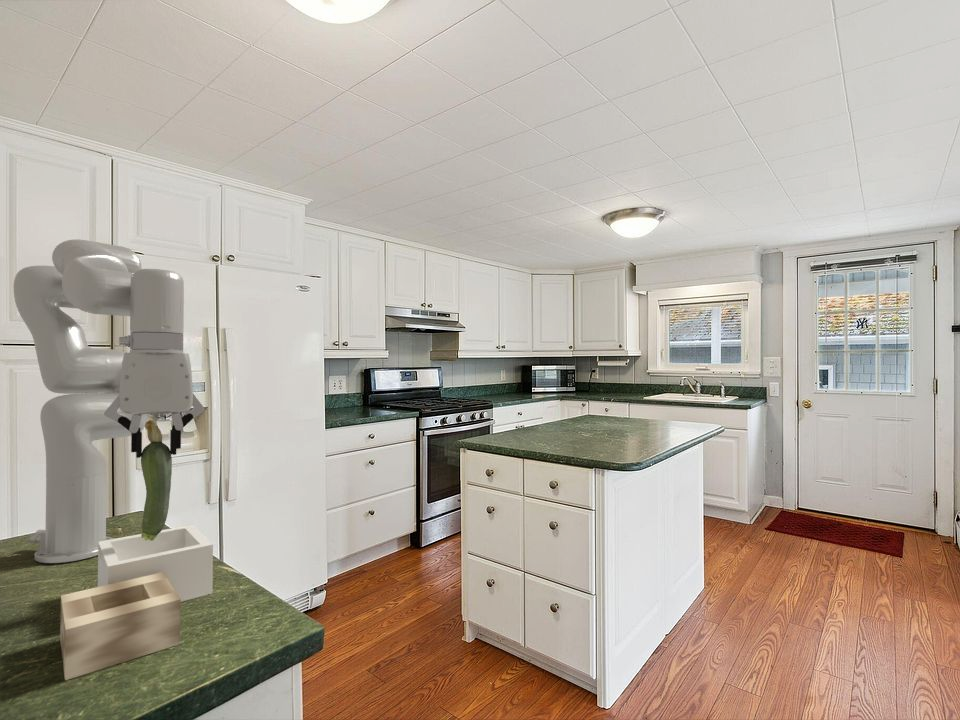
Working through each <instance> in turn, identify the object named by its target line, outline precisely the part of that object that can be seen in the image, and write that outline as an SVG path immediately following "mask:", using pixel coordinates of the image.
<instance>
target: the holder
mask: <svg viewBox="0 0 960 720" xmlns="http://www.w3.org/2000/svg"><path fill="white" fill-rule="evenodd" d="M181 603H182V602H181V599H180V598H179V596H178V594H177V593H176V591H175V590H174V588H173V587H172V585H171V584H170V582H169V581H168V579H167V577H166V576H165V574H164V573H163V572H161V573H157V574H153V575H148V576H144V577H140V578H135V579H131V580H126V581H122V582H118V583H113V584H109V585H105V586H100V587H98V586H96V587H92V588H88V589H84V590H80V591H79V590H78V591H75V592H70V593H65V594H62V595H60V634H59V637H60V639H59V640H60V648H61V657H62V667H63V676H64V681H68V680H71V679H72V680H73V679H75V678H78V677H80V676H84V675H88V674H90V673H91V674H92V673H94V672H96V671H100V670H102V669H106V668H109V667H110V668H111V667H112V666H115V665H119V664H122V663H125V662H128V661H131V660H134V659H138V658H141V657H144V656H148V655H150V654H154V653H157V652H160V651H163V650H166V649H169V648H172V647H176V646H179V645H181V610H182V609H181V607H182V606H181Z"/></svg>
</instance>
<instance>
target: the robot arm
mask: <svg viewBox="0 0 960 720" xmlns="http://www.w3.org/2000/svg"><path fill="white" fill-rule="evenodd" d="M51 258H52V259H51V260H52V263H53V266H52V265H30V266H29V265H28V266H26V267H23V268H21V269H20V270H18V272H17V273H16V275H15V277H14V279H13V298H14V302H15V305H16V309H17V311H18V313H19V316H20V317H21V319H22V320H23V322H24V324H25V325H26V327H27V329H28V331H29V332H30V334H31V336H32V340H33V343H34V348H35V354H36V357H37V362H38V367H39V372H40V376H41V380H42V383H43V385H44V386H45V389H47V390H48V391H50V392H51V393H54V394H62V395H58V396H55V397H52V398H51V399H48V400H47V401H46V402H45V403H44V405H42V407H41V410H40V426H41V431H42V435H43V441H44V450H45V529H37V531H35V533H34V535H31V536H30V537H29V539H28V540H29V543H34V544H35V543H37V544H40V545H39V547H40V548H39V549H37V550H36V551H35V552H34V560H35V561H36V562H38V563H41V564H62V563H71V562H76V561H81V560H86V559H89V558H93V557H98V542H100V541H105V540H111V539H114V537H111V536H107V478H108V477H107V467H108V466H107V460H106V458H105V456H104V455H103V453H102V452H101V451H100V450H99V449H98V448H97V447H96V446H95V445H94V444H93V443H92V442H94V441H99V440H107V439H115V438H117V439H118V438H125V437H131V439H130V441H131V442H130V445H131V446H130V447H131V449H130V452H131V453H135V455H136V456H135V457H136V459H138V458H140V459H141V457H142V451H143V432H142V431H143V430H144V429H145V424H146V422H148V421H147V420H148V415H151V414H154V415H156V414H170V416H171V419H172V423H173V425H172V426H171V429H170V437H169V439H170V440H169V441H170V442H169V443H170V444H169V449H170V452H171V456H173V455H174V456H176V455H177V450H179V449H181V448H182V430H183V429H184V428H185V427H186V425H188V424H189V423H190V422H191V421H192V420H193V419H195V418H196V417H198V416H199V415H201V414H203V413H204V412H205V411H206V408H205V406H203V404H202V403H201V402H200V401H199V399H198V398H197V397H196V395H195V394H194V392H193V388H194V386H193V376H192V372H193V371H192V366H191V365H192V364H191V359H190V355H189V353H186V352H185V353H184V323H185V322H184V318H185V317H184V316H185V315H184V314H185V313H184V309H185V308H184V306H185V301H184V300H185V299H184V298H185V286H184V284H185V283H184V279H183V276H182V275H180V274H179V273H178V272H175V271H172V270H167V269H159V268H142V263H141V259H140V257H139V256H138V254H137V253H136V252H135V251H133V250H132V249H130V248H129V247H125V246H121V245H120V246H119V245H116V244H115V245H114V244H111V243H110V244H109V243H103V242H97V241H92V240H86V239H78V238H77V239H67V240H64V241H62V242H60V243H59V244H58V245H56V246H55V248H54V249H53V251H52V254H51ZM61 308H66V309H67V308H68V309H78V310H80V311H82V312H85V313H88V314H93V315H105V316H108V315H109V316H119V317H129V334H128V335H127V336H126V335H125V336H119V341H118V345H119V346H124V347H127V348H129V352H124V351H123V350H118V349H111V348H110V349H109V348H107V349H106V348H93V347H91V346H89V345H88V343H87V339H86V334H85V331H84V329H83V328H82V326H81V325H80V324H79V323H78V322H77V321H76V320H75V319H74V318H73V317H71V316H70V315H69V314H67V313H65V312H64V311H63V310H62V309H61ZM184 412H187V413H185V414H183V416H181V413H184Z"/></svg>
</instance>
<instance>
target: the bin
mask: <svg viewBox="0 0 960 720" xmlns="http://www.w3.org/2000/svg"><path fill="white" fill-rule="evenodd" d="M141 535H142V533H140V534H133V535H127V536H123V537H118V538H113V539H111V540H105V541H100V542H98V555H97V587H100V586H105V585H109V584H113V583H118V582H122V581H126V580H131V579H135V578H140V577H144V576H148V575H153V574H157V573H161V572H163V573H164V574H165V576H166V577H167V579H168V581H169V582H170V584H171V585H172V587H173V588H174V590H175V591H176V593H177V594H178V596H179V598H180V599H181V603H182V602H185V601H191V600H193V599H197V598H201V597H204V596H208V594H209V595H212V594H213V590H214V589H213V585H214V584H213V583H214V581H213V577H214V576H213V574H214V573H213V571H214V566H213V564H214V544H213V542H211V541H210V540H209V539H208V538H207V537H206V536H205V535H204V534H203V533H202V532H201V531H200V530H199V529H197V527H196V526H195V525H193V524H189V525H183V526H177V527H173V528H172V527H171V528H166V529H162V531H161V532H160V533H159V534H158V535H157V536H156V538H155V539H154V540H153V541H151V540H145V538H142V536H141Z"/></svg>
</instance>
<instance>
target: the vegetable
mask: <svg viewBox="0 0 960 720" xmlns="http://www.w3.org/2000/svg"><path fill="white" fill-rule="evenodd" d="M144 429H146V430H147V439H148V441H149V444H147V445H145V447H144V448H142V457H140V465H141V466H140V467H141V470H142V476H143V480H144V484H145V490H146V491H145V492H146V494H145V495H146V497H145V503H144V507H143V514H142V522H141V530H142V532H141V534H142V535H141V536H142V538H145V540H151V541H153V540H154V539H155V538H156V536H157V535H158V534H159V533H160V532H161V531H162V530H164V527H165V525H166V522H167V518H168V513H169V508H170V499H171V498H170V497H171V496H170V494H171V487H172V472H173V471H172V469H173V466H172V465H173V460H172V459H173V458H172V454H171V452H170V446H168V445H167V444H165V443H163V434H162V431H161V430H160V428H159V426H158V425H156V423H155V422H154V420H148V421H147V422H146V424H145V427H144Z"/></svg>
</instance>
